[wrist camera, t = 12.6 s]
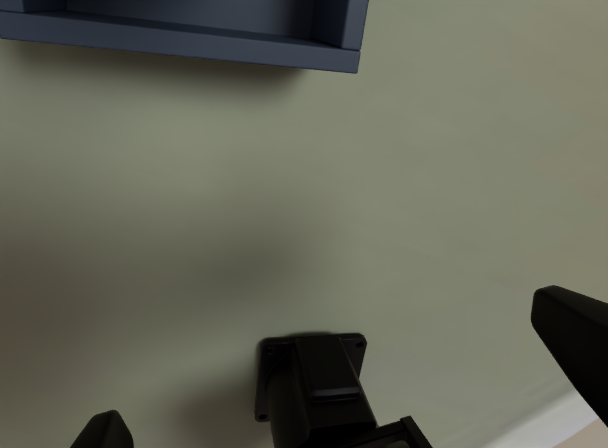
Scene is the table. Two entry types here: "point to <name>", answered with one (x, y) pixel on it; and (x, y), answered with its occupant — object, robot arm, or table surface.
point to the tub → (200, 28)
